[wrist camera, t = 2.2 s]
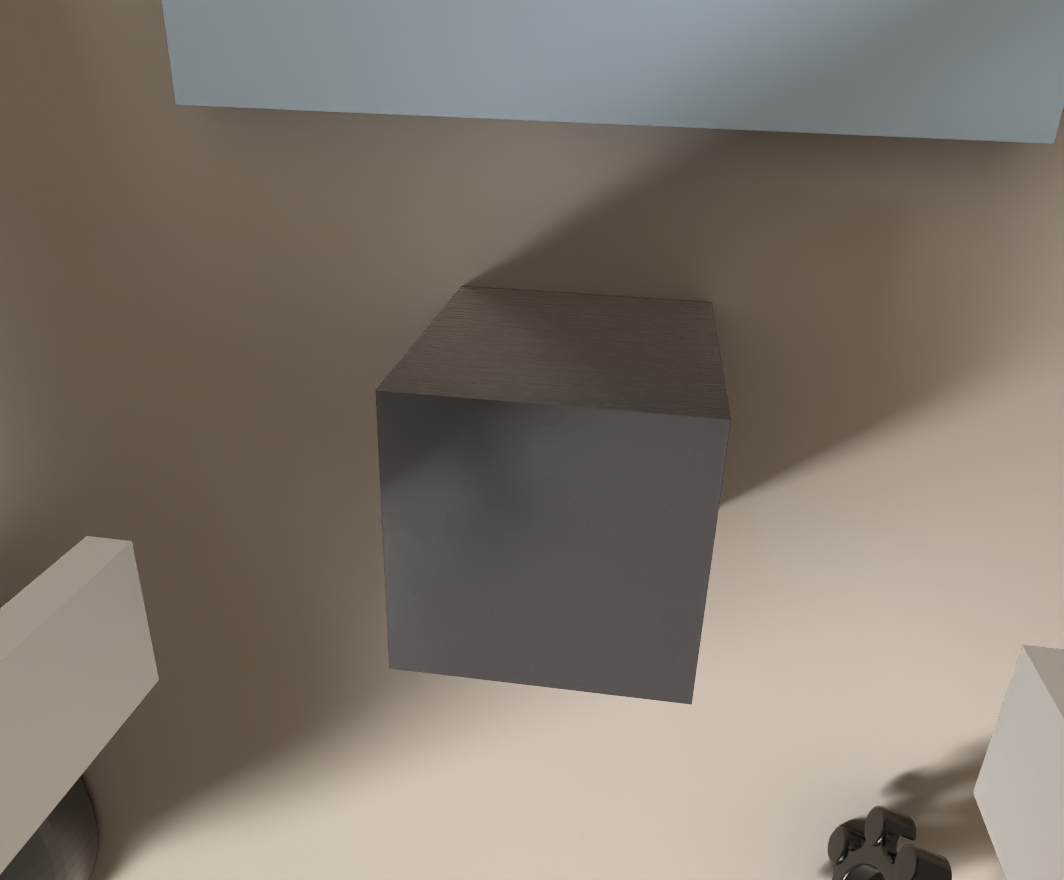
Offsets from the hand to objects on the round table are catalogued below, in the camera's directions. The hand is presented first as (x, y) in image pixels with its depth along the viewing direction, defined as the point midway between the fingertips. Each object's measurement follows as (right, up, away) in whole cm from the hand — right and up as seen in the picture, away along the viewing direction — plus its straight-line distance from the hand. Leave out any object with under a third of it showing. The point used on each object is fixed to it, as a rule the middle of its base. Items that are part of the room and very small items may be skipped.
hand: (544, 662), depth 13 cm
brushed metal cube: (+1, +4, +9) cm, 10 cm away
